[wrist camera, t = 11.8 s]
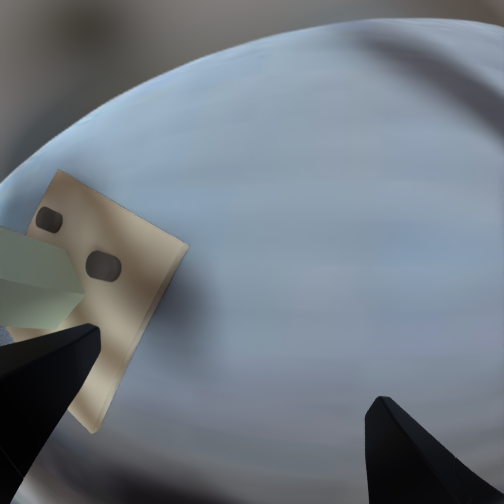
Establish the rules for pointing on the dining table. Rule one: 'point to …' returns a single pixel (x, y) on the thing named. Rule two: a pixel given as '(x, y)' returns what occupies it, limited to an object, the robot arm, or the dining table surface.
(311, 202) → the dining table surface
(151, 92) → the dining table surface
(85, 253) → the peg board
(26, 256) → the sage block
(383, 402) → the robot arm
